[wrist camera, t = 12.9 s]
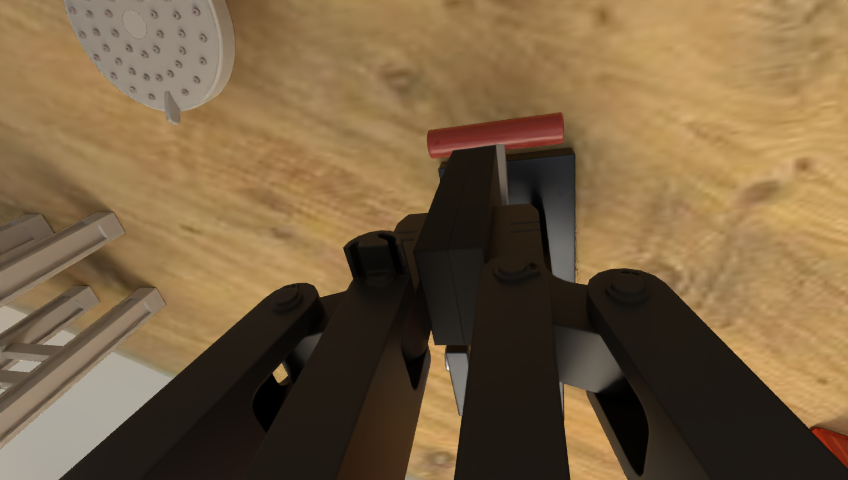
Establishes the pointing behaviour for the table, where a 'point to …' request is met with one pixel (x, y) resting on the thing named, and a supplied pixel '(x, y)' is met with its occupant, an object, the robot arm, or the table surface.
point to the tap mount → (555, 201)
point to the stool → (57, 314)
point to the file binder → (834, 443)
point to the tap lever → (499, 139)
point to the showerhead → (158, 48)
